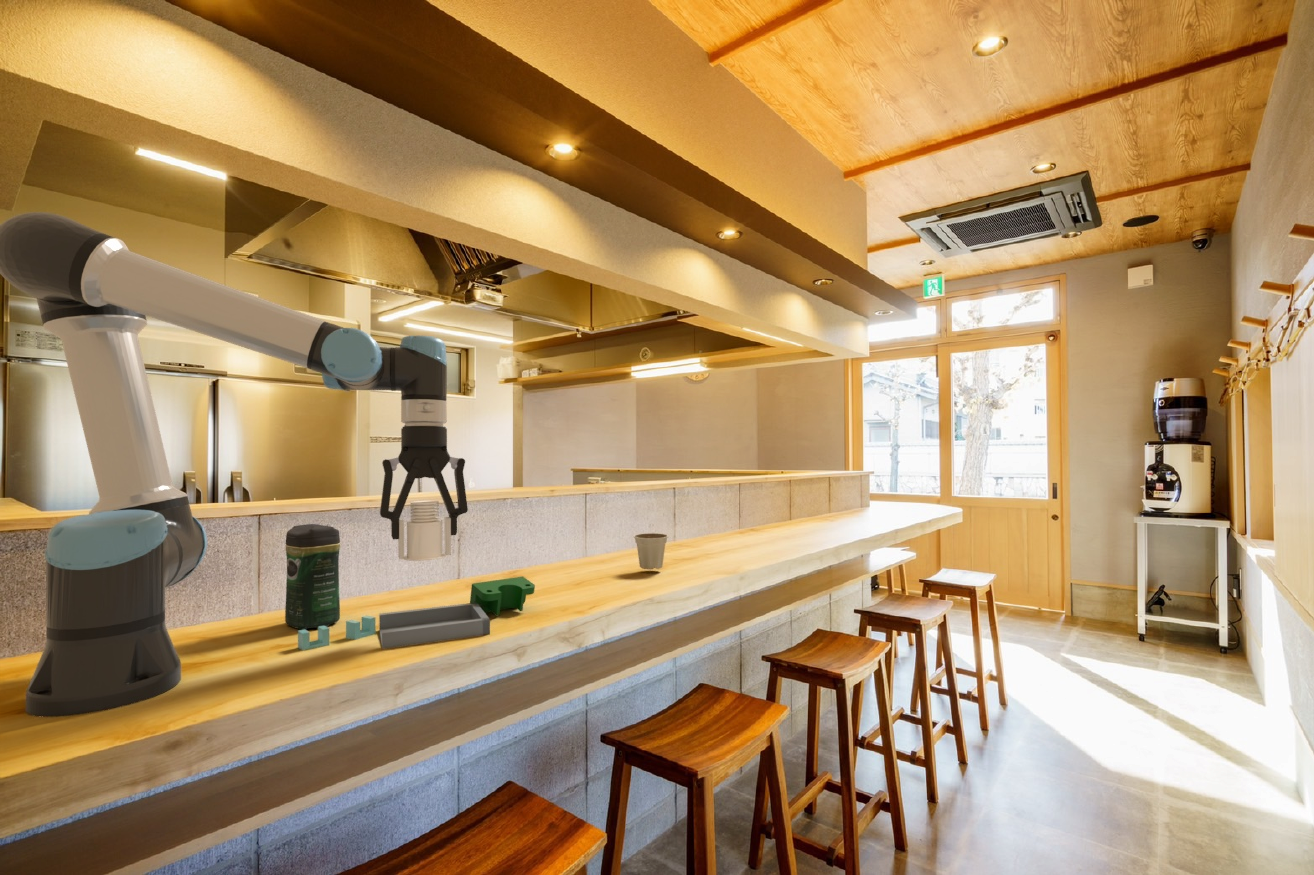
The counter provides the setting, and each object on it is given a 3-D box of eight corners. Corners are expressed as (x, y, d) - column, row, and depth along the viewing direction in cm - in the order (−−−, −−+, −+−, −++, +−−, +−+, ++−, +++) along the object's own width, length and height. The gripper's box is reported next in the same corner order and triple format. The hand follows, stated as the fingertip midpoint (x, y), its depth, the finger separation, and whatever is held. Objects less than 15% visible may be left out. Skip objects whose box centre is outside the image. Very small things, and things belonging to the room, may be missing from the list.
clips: (304, 653, 97) (304, 634, 98) (296, 649, 99) (296, 630, 100) (377, 635, 107) (377, 618, 107) (369, 631, 109) (369, 615, 109)
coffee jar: (347, 623, 114) (347, 523, 115) (302, 633, 108) (302, 528, 108) (322, 614, 120) (322, 520, 120) (278, 624, 114) (278, 524, 114)
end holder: (382, 652, 98) (382, 633, 98) (379, 630, 110) (379, 613, 110) (489, 636, 105) (489, 619, 106) (476, 618, 117) (476, 602, 117)
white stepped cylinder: (414, 554, 111) (414, 499, 111) (452, 554, 111) (452, 499, 111) (394, 563, 103) (394, 504, 103) (435, 563, 103) (435, 503, 103)
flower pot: (668, 571, 160) (668, 538, 161) (632, 571, 161) (632, 538, 161) (668, 564, 170) (668, 533, 170) (634, 564, 170) (634, 533, 170)
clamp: (490, 638, 117) (476, 599, 114) (476, 625, 122) (463, 588, 118) (543, 605, 124) (532, 568, 121) (528, 594, 128) (517, 558, 125)
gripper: (361, 424, 100) (362, 565, 99) (485, 424, 108) (486, 554, 108) (361, 425, 106) (361, 557, 106) (478, 426, 115) (478, 548, 115)
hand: (424, 555), depth 107 cm, fingers closed on white stepped cylinder, 7 cm apart
